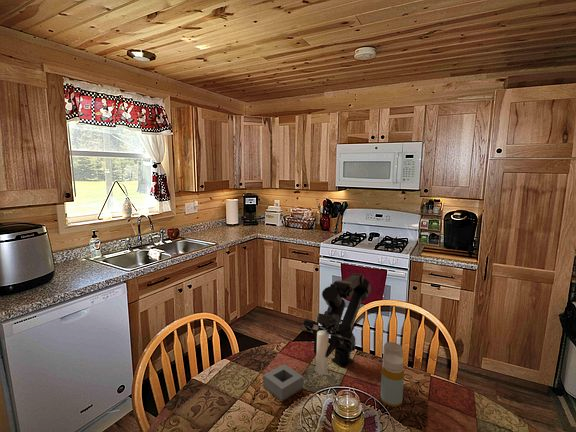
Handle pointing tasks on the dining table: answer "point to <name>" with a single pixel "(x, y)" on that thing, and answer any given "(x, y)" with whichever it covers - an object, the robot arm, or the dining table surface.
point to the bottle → (392, 380)
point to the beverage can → (392, 350)
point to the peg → (322, 352)
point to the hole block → (283, 382)
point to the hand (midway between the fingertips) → (320, 355)
